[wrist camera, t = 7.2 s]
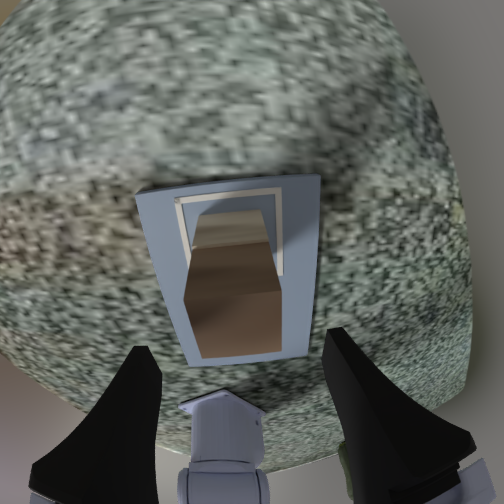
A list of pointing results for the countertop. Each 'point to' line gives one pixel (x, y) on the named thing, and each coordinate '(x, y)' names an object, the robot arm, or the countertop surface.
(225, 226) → the maple block
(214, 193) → the board
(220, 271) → the walnut block
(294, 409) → the countertop surface
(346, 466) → the vegetable
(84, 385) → the countertop surface
